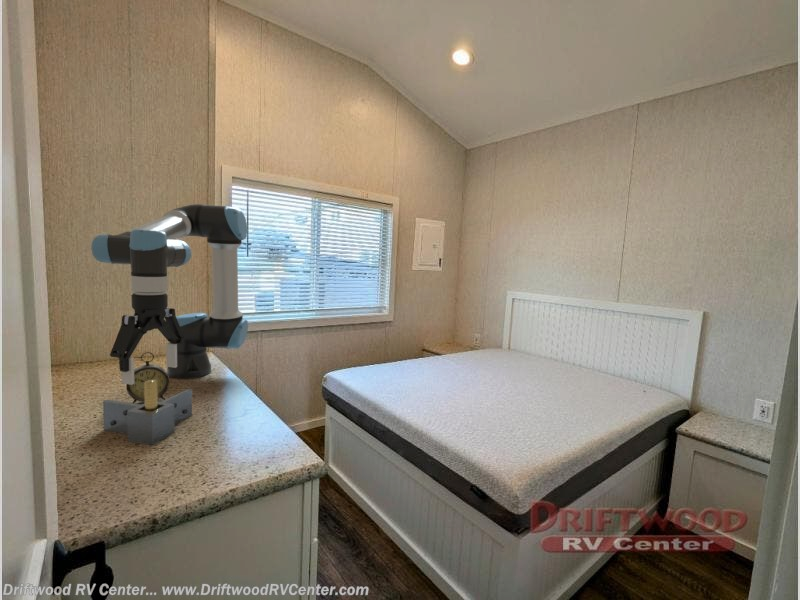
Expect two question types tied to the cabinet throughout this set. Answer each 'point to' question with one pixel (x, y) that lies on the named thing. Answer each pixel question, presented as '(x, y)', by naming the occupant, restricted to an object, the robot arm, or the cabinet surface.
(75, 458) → the cabinet surface
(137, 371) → the alarm clock
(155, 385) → the hinge pin
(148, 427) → the hinge leaves
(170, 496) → the cabinet surface
